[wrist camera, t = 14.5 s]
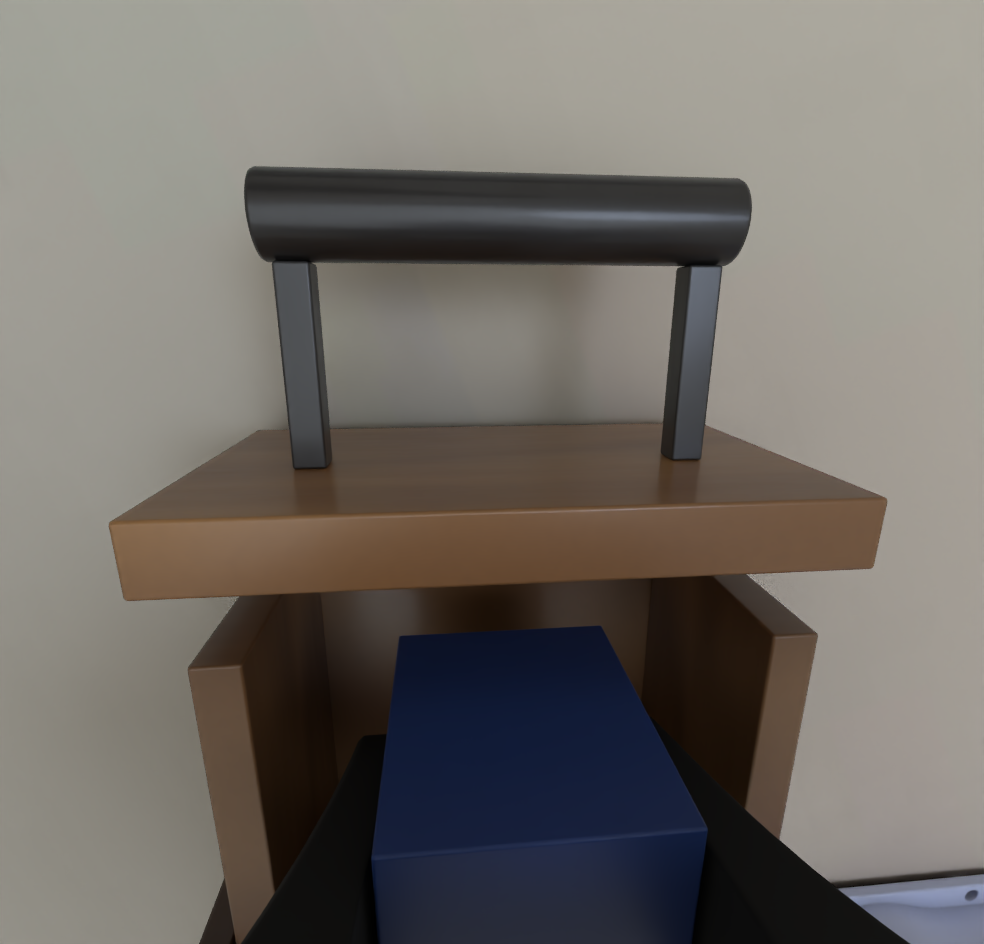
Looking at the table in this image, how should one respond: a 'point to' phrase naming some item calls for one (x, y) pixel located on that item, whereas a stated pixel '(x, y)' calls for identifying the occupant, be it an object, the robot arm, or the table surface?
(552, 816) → the blue box
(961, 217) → the table surface
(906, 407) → the table surface
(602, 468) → the drawer
